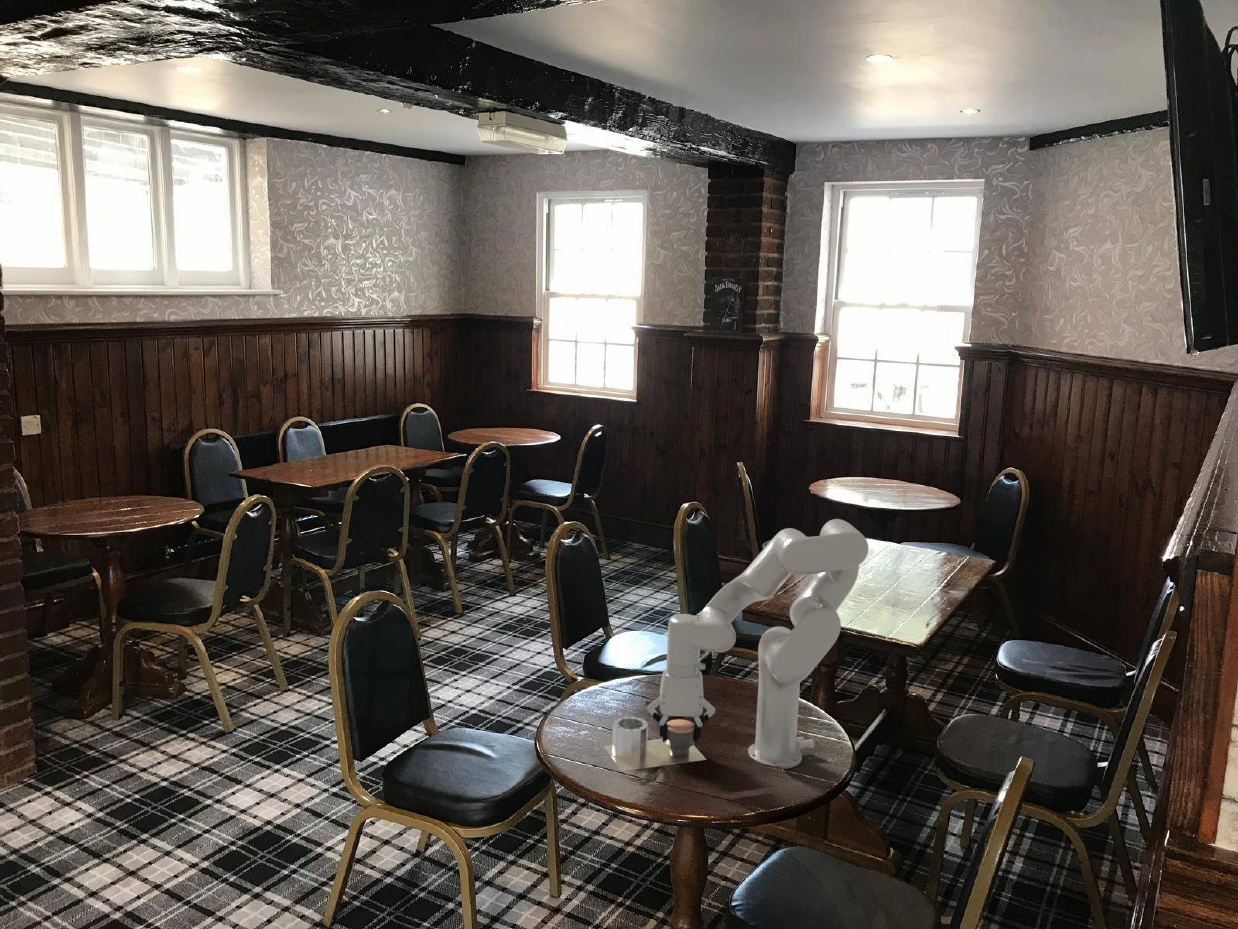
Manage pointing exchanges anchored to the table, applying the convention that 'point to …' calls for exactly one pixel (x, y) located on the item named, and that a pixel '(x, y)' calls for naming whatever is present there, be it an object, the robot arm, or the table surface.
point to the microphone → (669, 716)
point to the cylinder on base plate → (642, 747)
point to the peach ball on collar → (680, 737)
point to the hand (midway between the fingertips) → (679, 739)
